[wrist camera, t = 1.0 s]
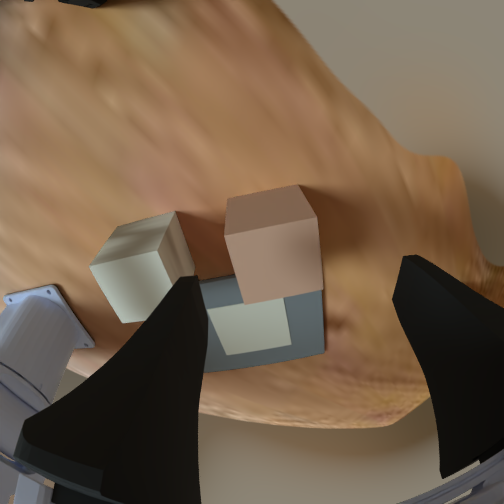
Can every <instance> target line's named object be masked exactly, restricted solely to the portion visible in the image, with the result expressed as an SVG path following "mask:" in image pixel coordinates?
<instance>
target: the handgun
mask: <svg viewBox="0 0 504 504" xmlns="http://www.w3.org/2000/svg"><path fill="white" fill-rule="evenodd" d="M24 1H28V2H33V1H34V0H24ZM58 2H62V3H67V4H73V5H78V6H83V7H88V8H96V7H98V6H100V5H102V4H103V3H105V2H107V0H58Z"/></svg>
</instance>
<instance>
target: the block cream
mask: <svg viewBox="0 0 504 504" xmlns="http://www.w3.org/2000/svg"><path fill="white" fill-rule="evenodd" d="M89 268H90V270H91V271H92V273H93V275H94V277H95V279H96V280H97V282H98V284H99V286H100V287H101V289H102V291H103V293H104V294H105V296H106V298H107V299H108V301H109V303H110V304H111V306H112V308H113V309H114V311H115V312H116V314H117V316H118V317H119V319H120V320H121V322H122V323H130V322H138V321H146V319H147V318H148V317H149V316H150V314H151V313H152V312H153V311H154V309H155V308H156V307H157V305H158V304H159V303H160V302H161V300H162V299H163V298H164V296H165V295H166V294H167V292H168V291H169V290H170V289H171V287H172V286H173V285H174V283H175V282H176V281H177V280H178V278H179V277H183V276H194V271H195V265H194V262H193V259H192V256H191V254H190V251H189V248H188V246H187V243H186V240H185V237H184V235H183V232H182V229H181V226H180V223H179V220H178V218H177V215H176V212H175V211H173V212H169V213H165V214H162V215H158V216H154V217H150V218H146V219H143V220H139V221H135V222H132V223H128V224H125V225H121V226H118V227H117V228H116V229H115V230H114V232H113V233H112V234H111V236H110V237H109V239H108V240H107V241H106V243H105V244H104V245H103V247H102V248H101V250H100V251H99V252H98V254H97V255H96V257H95V258H94V260H93V261H92V263H91V264H90V265H89Z"/></svg>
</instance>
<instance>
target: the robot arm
mask: <svg viewBox="0 0 504 504" xmlns="http://www.w3.org/2000/svg"><path fill="white" fill-rule="evenodd" d="M3 300H4V302H5V303H6V305H7V306H6V308H5V309H4V310H3V312H2V313H1V315H0V452H2V453H3V454H5V455H6V456H8V457H9V458H11V459H13V460H14V461H11V460H9V459H7V458H5V457H3V456H2V455H0V504H8V503H9V499H10V496H11V495H14V494H15V498H14V503H13V504H201V496H200V484H199V467H198V410H199V399H200V392H201V386H202V379H203V373H204V366H205V359H206V353H207V346H208V320H209V319H208V315H207V311H206V308H205V304H204V300H203V296H202V292H201V288H200V284H199V280H198V276H197V275H196V276H183V277H179V278H178V280H177V281H176V282H175V283H174V285H173V286H172V287H171V289H170V290H169V291H168V292H167V294H166V295H165V296H164V298H163V299H162V300H161V302H160V303H159V304H158V305H157V307H156V308H155V309H154V311H153V312H152V313H151V314H150V316H149V317H148V318H147V319H146V321H145V322H144V323H143V324H142V325H141V326H140V328H139V329H138V330H137V331H136V332H135V333H134V335H133V336H132V337H131V338H130V339H129V340H128V341H127V342H126V344H125V345H124V346H123V347H122V348H121V349H120V350H119V351H118V352H117V353H116V354H115V355H114V356H113V357H112V358H111V359H110V360H109V361H107V362H106V363H105V364H104V365H103V366H102V367H101V368H100V369H98V370H97V371H96V372H95V373H94V374H92V375H91V376H90V377H89V378H88V379H87V380H85V381H84V382H83V383H82V384H80V385H79V386H78V387H76V388H75V389H74V390H72V391H71V392H70V393H68V394H67V395H66V396H64V397H63V398H61V399H60V400H58V401H56V402H55V403H53V404H52V402H53V400H54V397H55V394H56V391H57V389H58V386H59V384H60V381H61V378H62V376H63V374H64V371H65V369H66V366H67V364H68V362H69V359H70V357H71V355H72V352H73V350H74V349H77V348H94V346H95V342H94V341H93V340H92V338H91V337H90V336H89V334H88V333H87V332H86V330H85V329H84V328H83V326H82V325H81V323H80V322H79V321H78V319H77V318H76V316H75V315H74V313H73V312H72V310H71V309H70V307H69V306H68V304H67V303H66V301H65V300H64V298H63V297H62V295H61V294H60V292H59V290H58V289H57V287H56V286H54V285H48V286H43V287H39V288H34V289H30V290H26V291H21V292H17V293H13V294H8V295H5V296H4V297H3ZM392 301H393V304H394V307H395V310H396V313H397V316H398V318H399V321H400V323H401V326H402V328H403V330H404V332H405V334H406V336H407V338H408V340H409V342H410V344H411V346H412V348H413V350H414V353H415V355H416V357H417V359H418V361H419V363H420V366H421V368H422V370H423V373H424V375H425V378H426V381H427V385H428V388H429V392H430V395H431V399H432V403H433V408H434V413H435V418H436V424H437V430H438V438H439V454H440V473H441V477H442V479H444V478H446V477H448V476H450V475H452V474H454V473H456V472H458V471H460V470H462V469H464V468H465V467H467V466H469V465H471V464H473V463H474V462H476V461H477V460H479V461H480V465H478V466H477V467H475V468H473V469H471V470H470V471H468V472H466V473H464V474H463V475H461V476H459V477H457V478H455V479H453V480H451V481H449V482H447V483H445V484H443V485H441V486H439V487H437V488H435V489H432V490H430V491H428V492H426V493H423V494H421V495H418V496H416V497H414V498H411V499H408V500H406V501H403V502H400V503H398V504H444V503H446V502H448V501H450V500H452V499H453V498H455V497H457V496H459V495H461V494H463V493H464V492H466V491H468V490H469V489H471V488H472V491H471V493H470V494H469V495H467V496H464V497H462V498H460V499H458V500H455V501H454V502H451V503H449V504H504V308H502V307H501V306H499V305H497V304H495V303H493V302H492V301H490V300H488V299H487V298H485V297H483V296H482V295H480V294H479V293H477V292H475V291H474V290H472V289H471V288H469V287H468V286H466V285H465V284H463V283H462V282H460V281H459V280H457V279H456V278H454V277H453V276H451V275H450V274H448V273H447V272H445V271H444V270H442V269H441V268H439V267H437V266H436V265H434V264H433V263H431V262H429V261H428V260H426V259H424V258H422V257H420V256H418V255H408V256H403V258H402V263H401V267H400V271H399V275H398V279H397V283H396V287H395V290H394V294H393V298H392ZM45 478H47V479H49V480H51V481H53V482H55V484H54V489H53V488H50V487H48V486H46V485H44V484H43V483H44V480H45Z"/></svg>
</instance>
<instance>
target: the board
mask: <svg viewBox="0 0 504 504" xmlns="http://www.w3.org/2000/svg"><path fill="white" fill-rule="evenodd" d="M199 284H200V288H201V292H202V296H203V300H204V304H205V308H206V311H207V315H208V319H209V320H208V346H207V353H206V359H205V366H204V373H207V372H216V371H225V370H233V369H240V368H247V367H254V366H260V365H266V364H272V363H278V362H283V361H289V360H294V359H299V358H304V357H308V356H313V355H318V354H322V353H324V328H323V309H322V293H321V290H318V291H313V292H309V293H304V294H299V295H294V296H289V297H284V298H279V299H274V300H269V301H264V302H258V303H253V304H248V305H244V301H243V298H242V295H241V291H240V288H239V285H238V281H237V278H236V275H235V274H234V275H229V276H224V277H218V278H213V279H208V280H202V281H199Z"/></svg>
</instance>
